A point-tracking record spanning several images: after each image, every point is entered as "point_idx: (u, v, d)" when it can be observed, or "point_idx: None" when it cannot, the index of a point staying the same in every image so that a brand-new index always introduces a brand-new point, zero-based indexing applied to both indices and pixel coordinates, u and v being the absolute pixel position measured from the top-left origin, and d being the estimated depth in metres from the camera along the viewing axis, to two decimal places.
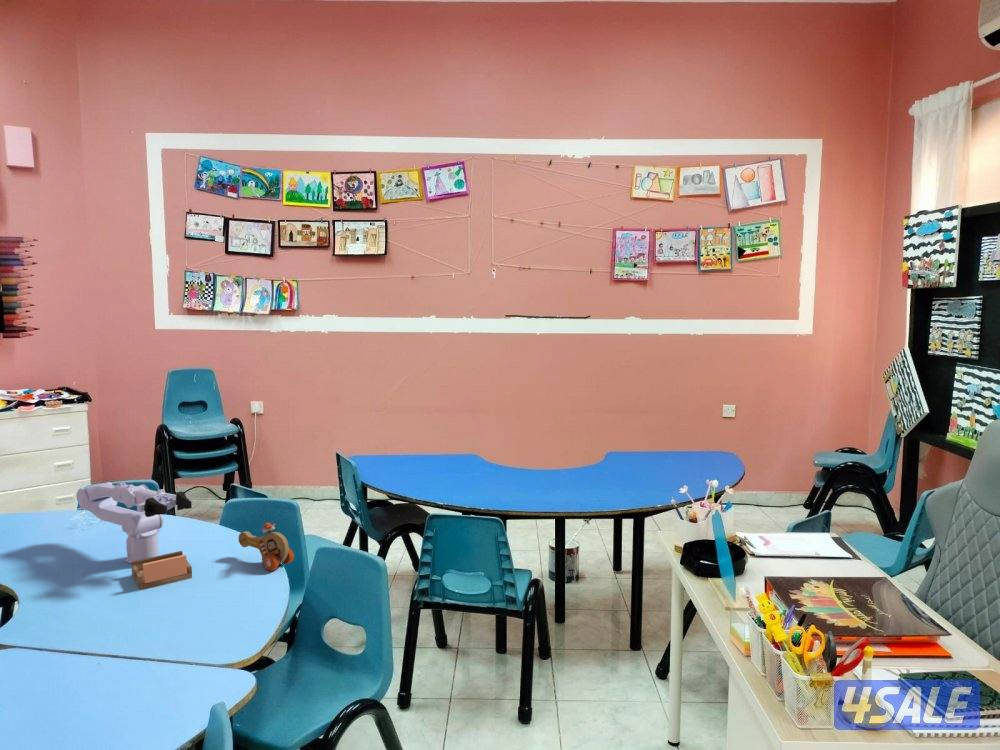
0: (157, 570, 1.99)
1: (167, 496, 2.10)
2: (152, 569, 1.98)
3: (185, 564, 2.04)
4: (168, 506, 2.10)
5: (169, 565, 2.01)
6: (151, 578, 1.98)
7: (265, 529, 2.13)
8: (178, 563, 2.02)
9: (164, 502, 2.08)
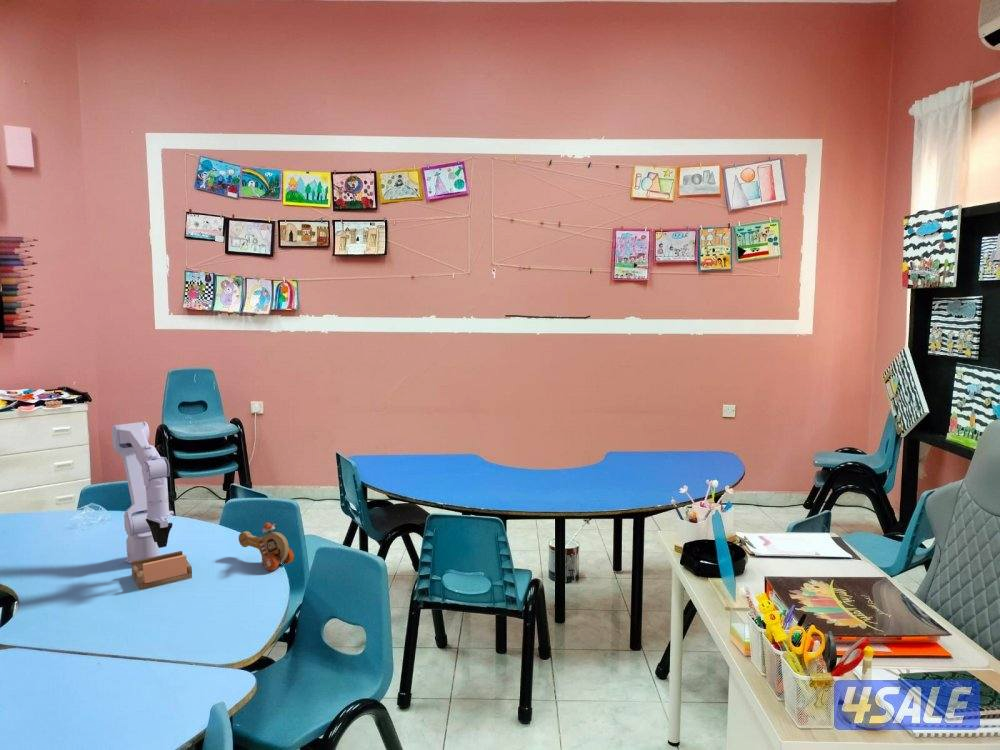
0: (157, 570, 1.99)
1: None
2: (152, 569, 1.98)
3: (185, 564, 2.04)
4: None
5: (169, 565, 2.01)
6: (151, 578, 1.98)
7: (265, 529, 2.13)
8: (178, 563, 2.02)
9: None
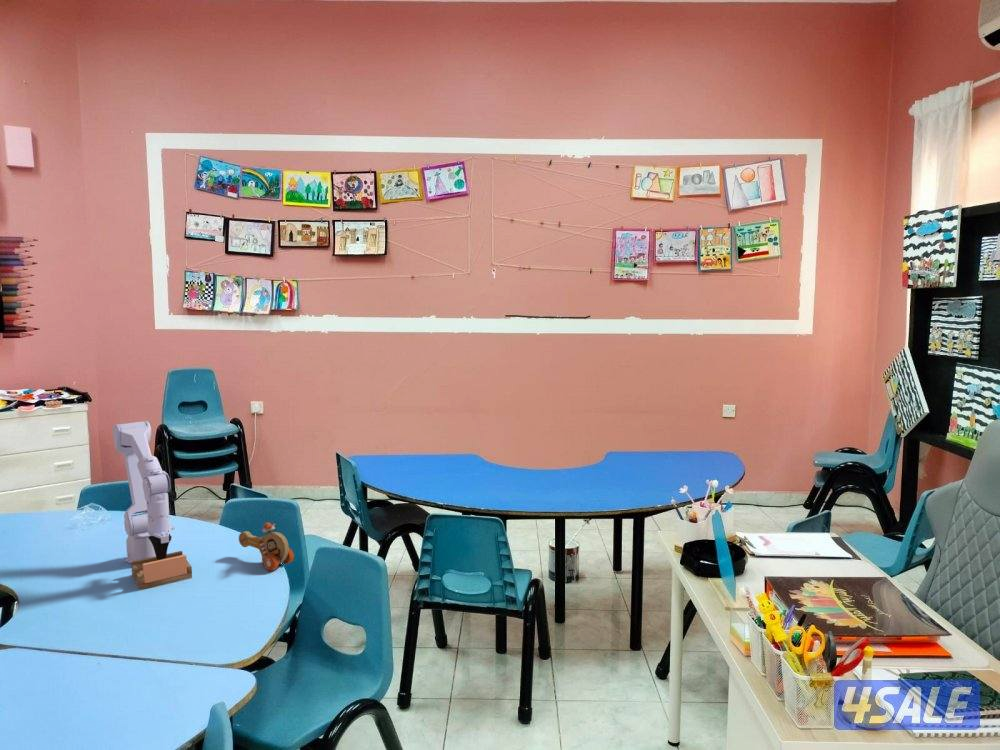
0: (157, 570, 1.99)
1: None
2: (152, 569, 1.98)
3: (185, 564, 2.04)
4: None
5: (169, 565, 2.01)
6: (151, 578, 1.98)
7: (265, 529, 2.13)
8: (178, 563, 2.02)
9: None
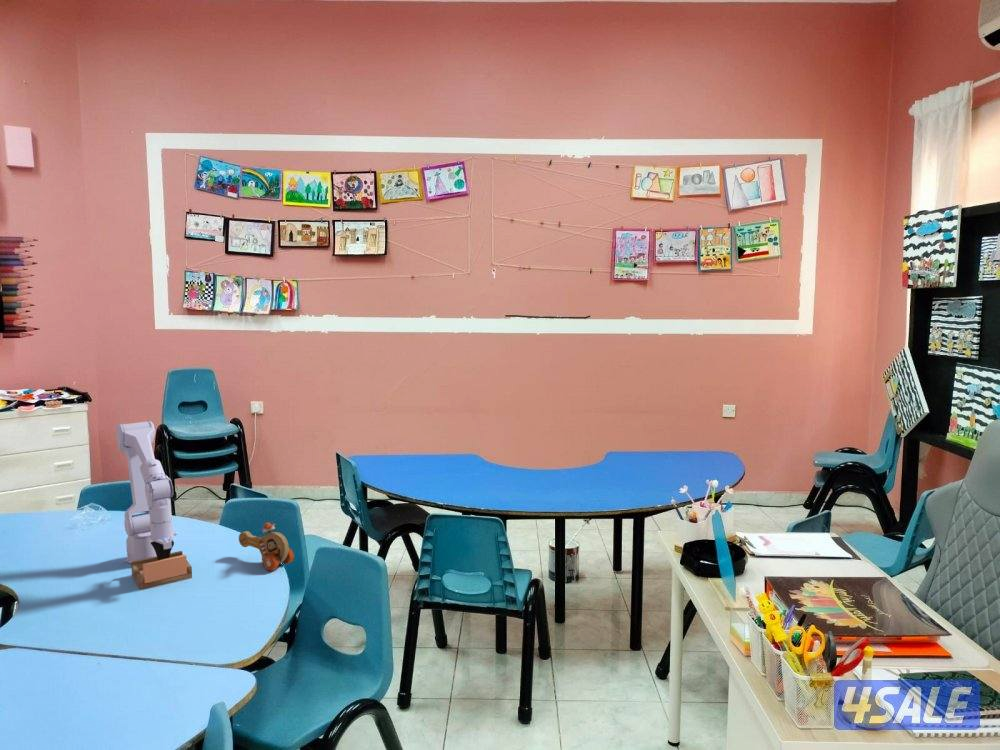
0: (157, 570, 1.99)
1: None
2: (152, 569, 1.98)
3: (185, 564, 2.04)
4: None
5: (169, 565, 2.01)
6: (151, 578, 1.98)
7: (265, 529, 2.13)
8: (178, 563, 2.02)
9: None
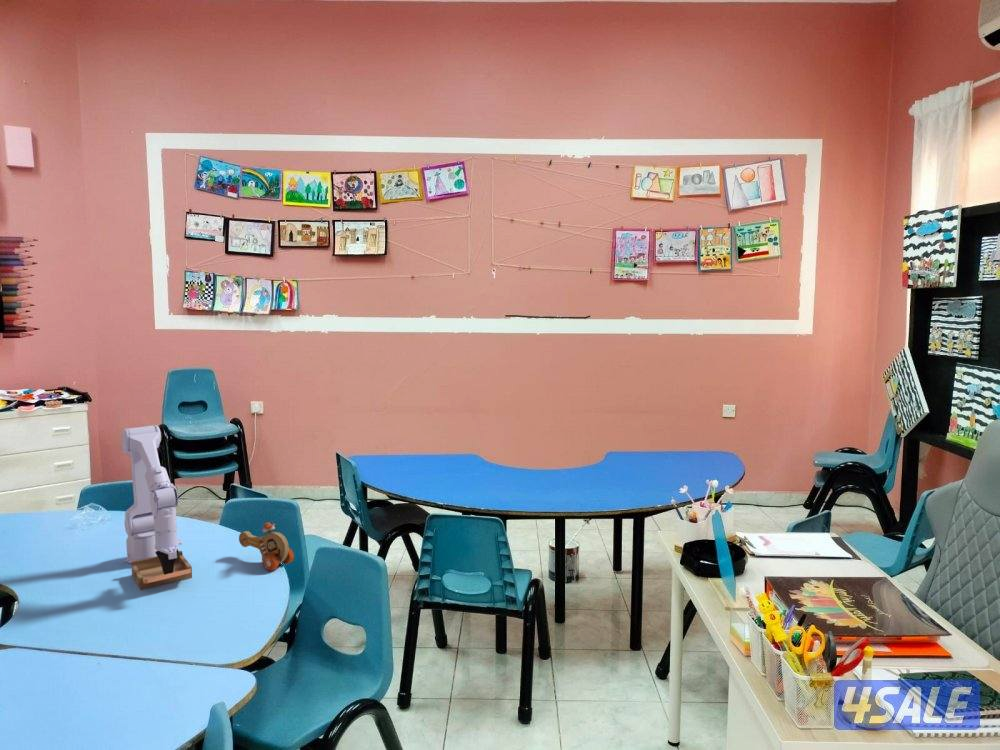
0: None
1: None
2: None
3: None
4: None
5: None
6: None
7: (265, 529, 2.13)
8: None
9: None
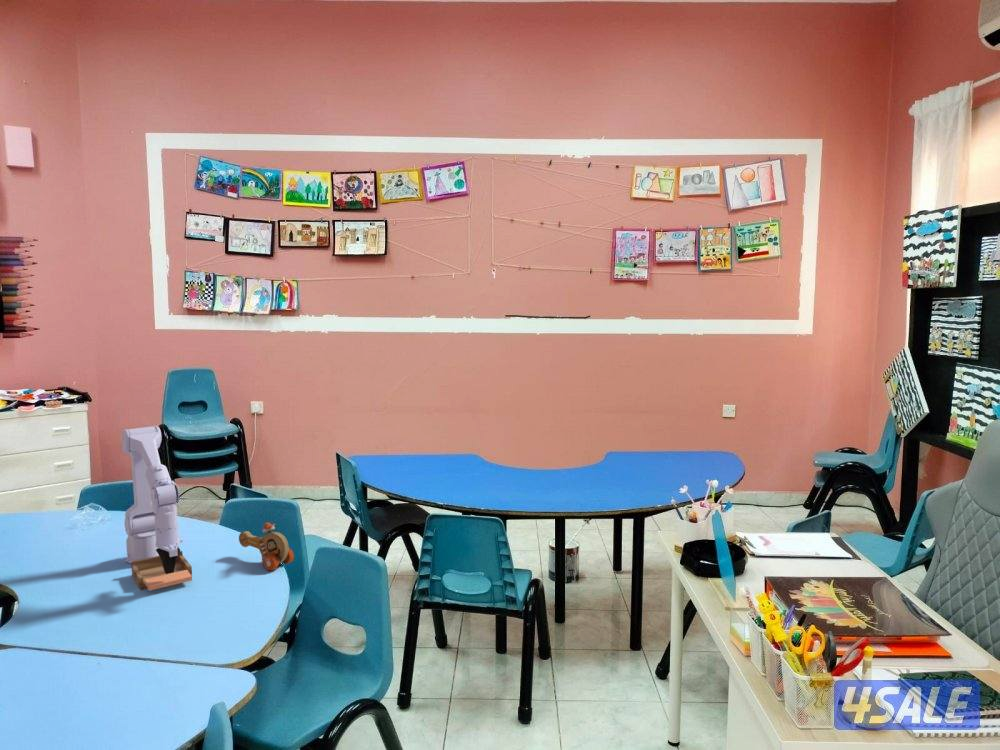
0: None
1: None
2: None
3: None
4: None
5: None
6: None
7: (265, 529, 2.13)
8: None
9: None
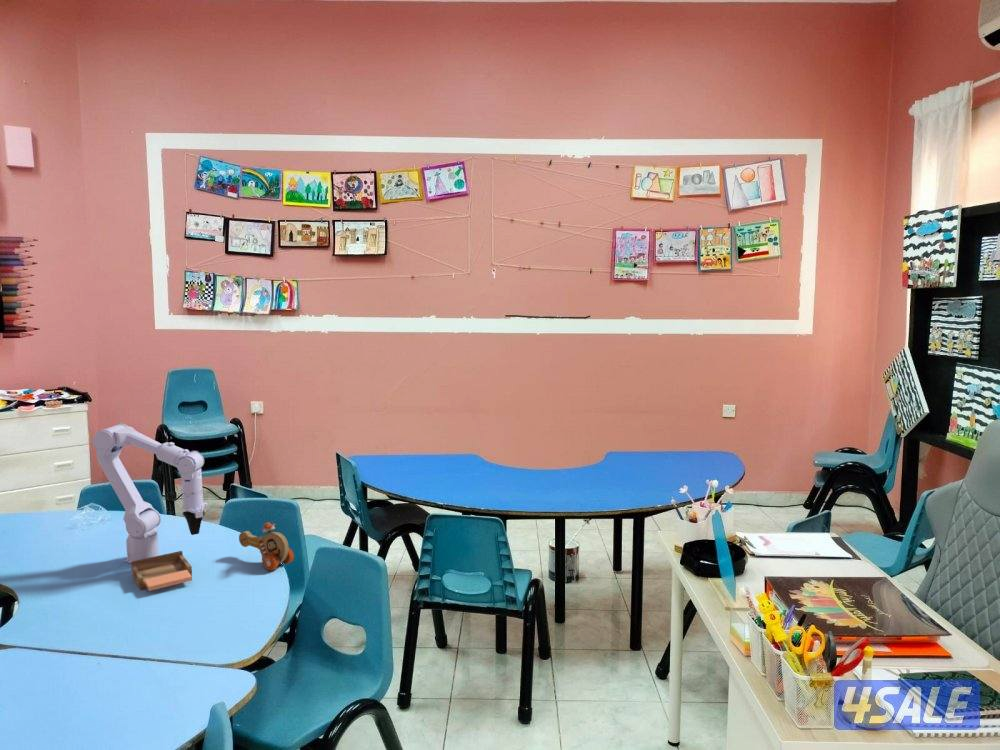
0: None
1: None
2: None
3: None
4: None
5: None
6: None
7: (265, 529, 2.13)
8: None
9: None
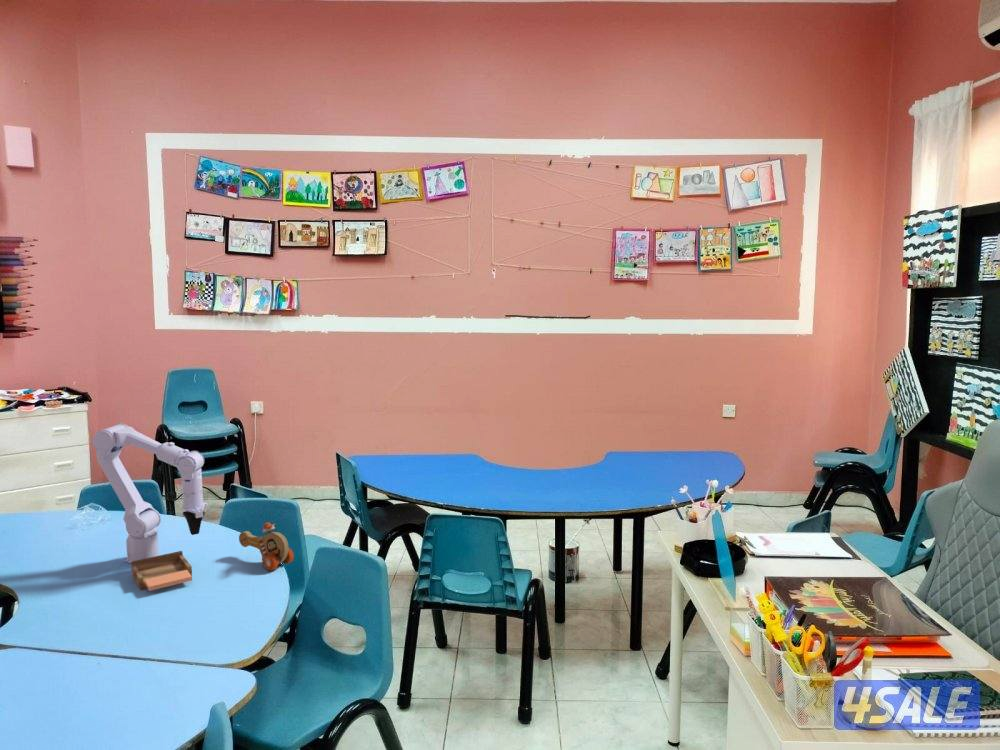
0: None
1: None
2: None
3: None
4: None
5: None
6: None
7: (265, 529, 2.13)
8: None
9: None
